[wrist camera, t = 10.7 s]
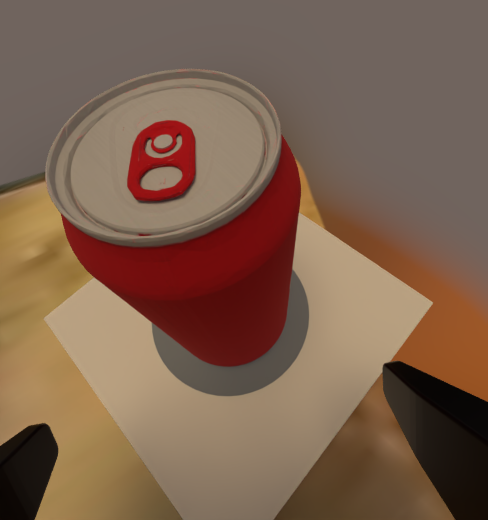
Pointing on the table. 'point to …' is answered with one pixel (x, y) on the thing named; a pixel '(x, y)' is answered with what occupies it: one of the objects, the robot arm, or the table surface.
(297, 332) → the base plate
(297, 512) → the table surface
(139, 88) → the beverage can
